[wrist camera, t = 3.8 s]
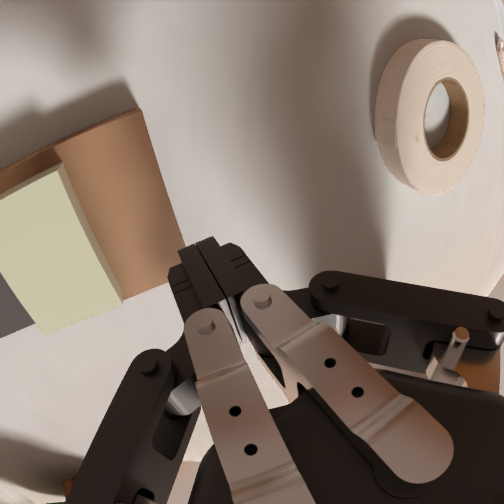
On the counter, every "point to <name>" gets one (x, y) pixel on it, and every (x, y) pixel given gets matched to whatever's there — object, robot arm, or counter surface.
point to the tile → (53, 253)
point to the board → (116, 197)
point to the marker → (501, 54)
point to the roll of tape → (413, 114)
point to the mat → (11, 311)
